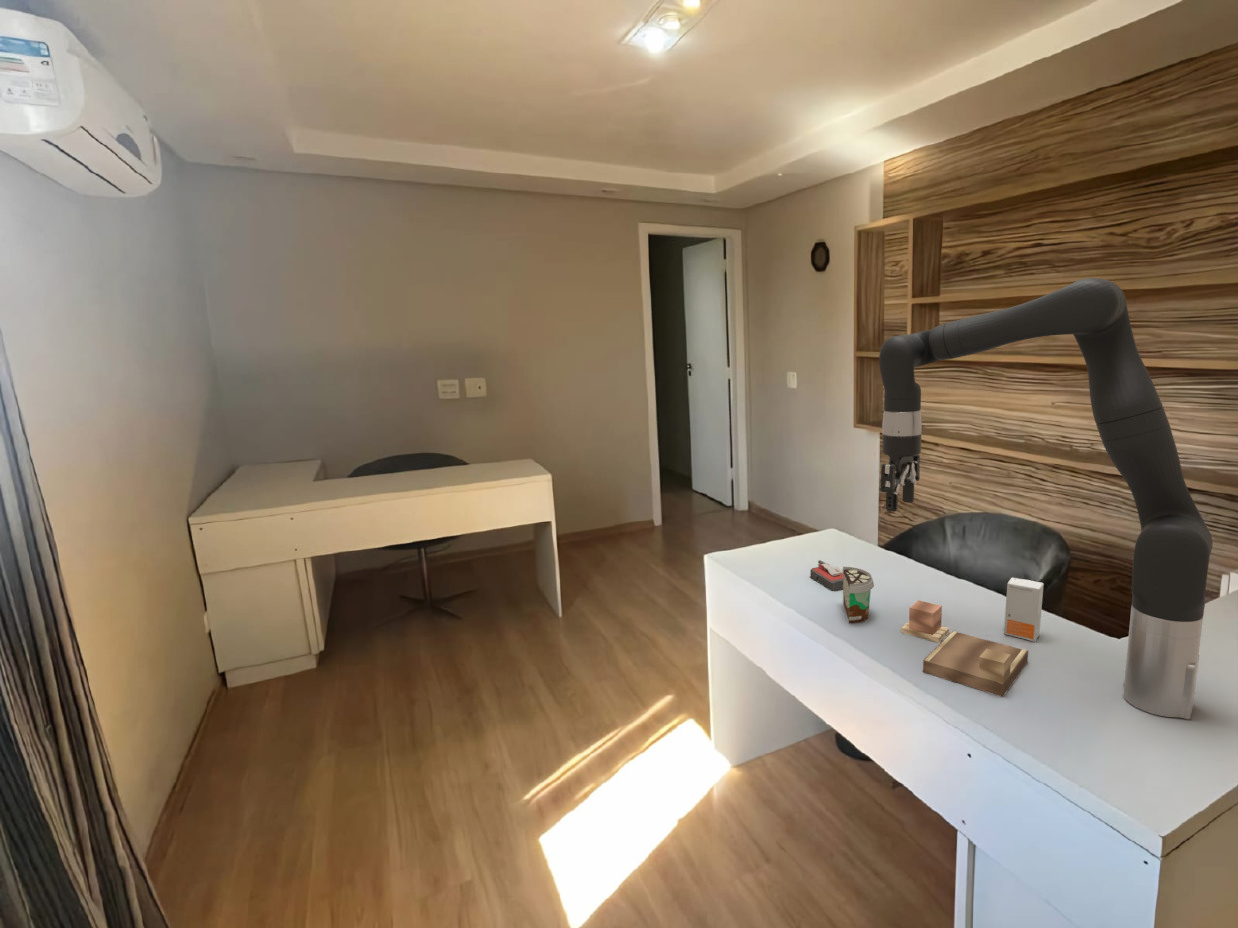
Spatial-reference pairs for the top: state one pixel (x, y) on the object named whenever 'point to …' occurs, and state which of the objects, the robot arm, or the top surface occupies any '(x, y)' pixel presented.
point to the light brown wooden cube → (994, 665)
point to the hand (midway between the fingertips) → (900, 506)
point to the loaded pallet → (925, 622)
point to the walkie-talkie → (828, 576)
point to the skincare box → (1023, 608)
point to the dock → (971, 662)
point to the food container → (856, 593)
